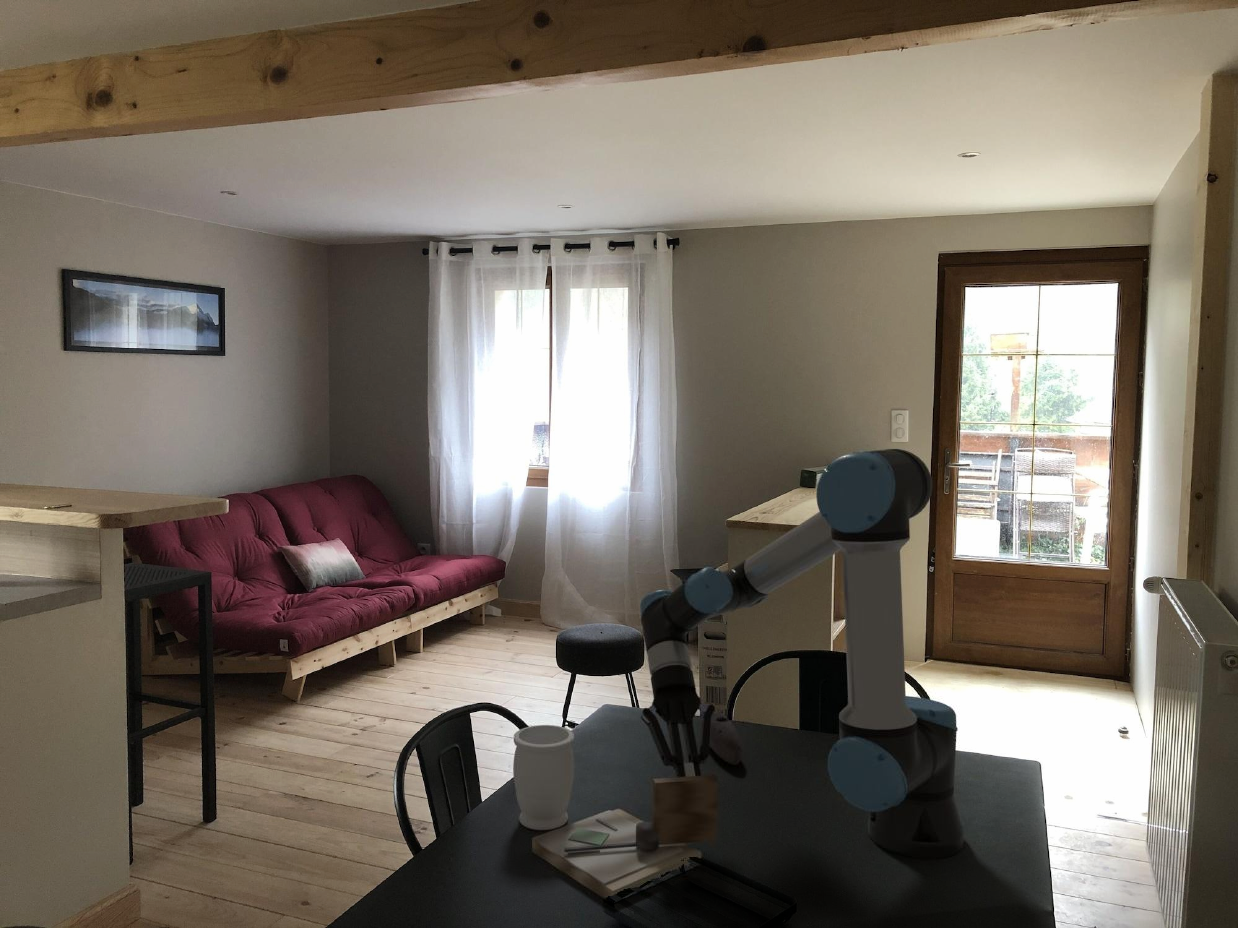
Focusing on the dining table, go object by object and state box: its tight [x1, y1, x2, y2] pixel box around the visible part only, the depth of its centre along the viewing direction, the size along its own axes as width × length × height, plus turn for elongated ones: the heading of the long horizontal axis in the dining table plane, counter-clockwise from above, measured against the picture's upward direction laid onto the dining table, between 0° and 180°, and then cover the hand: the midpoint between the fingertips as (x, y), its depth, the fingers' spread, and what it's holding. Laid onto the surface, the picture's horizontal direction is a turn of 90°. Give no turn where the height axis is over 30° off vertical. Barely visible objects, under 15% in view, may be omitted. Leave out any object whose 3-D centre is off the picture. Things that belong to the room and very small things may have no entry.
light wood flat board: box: [531, 808, 703, 900], centre depth 150 cm, size 20×18×2 cm
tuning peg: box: [564, 774, 719, 852], centre depth 149 cm, size 24×4×10 cm, turn 100°
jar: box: [512, 724, 575, 831], centre depth 163 cm, size 11×10×15 cm
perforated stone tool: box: [709, 712, 743, 766], centre depth 192 cm, size 15×5×7 cm, turn 11°
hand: (693, 804), depth 154 cm, fingers closed
